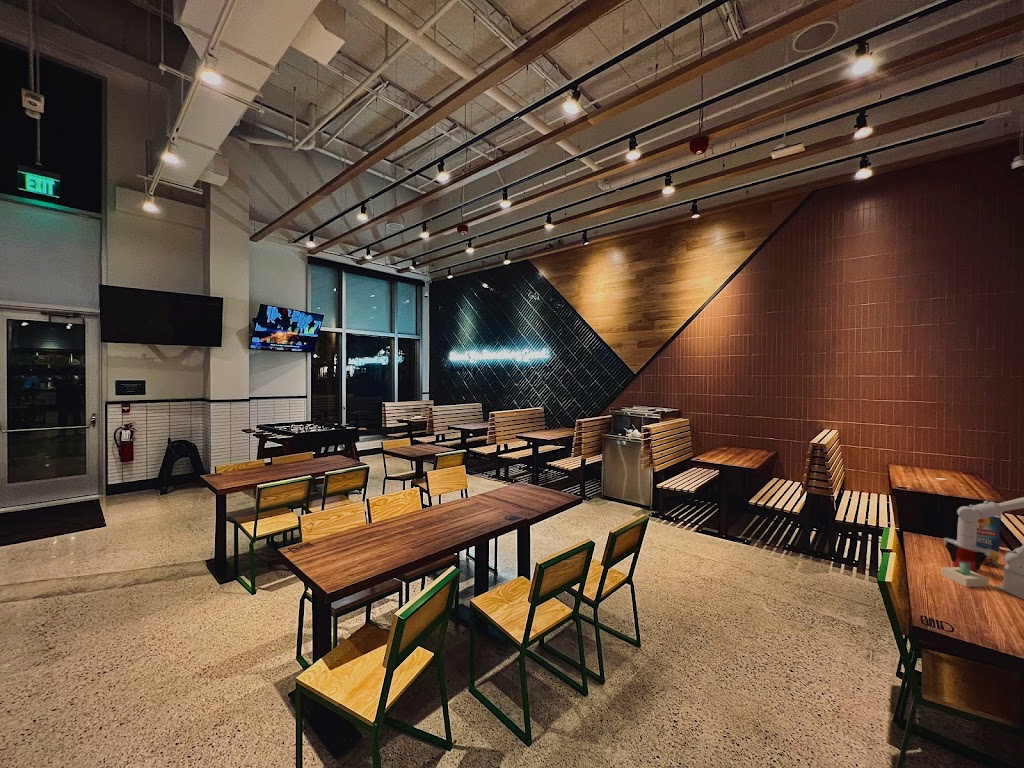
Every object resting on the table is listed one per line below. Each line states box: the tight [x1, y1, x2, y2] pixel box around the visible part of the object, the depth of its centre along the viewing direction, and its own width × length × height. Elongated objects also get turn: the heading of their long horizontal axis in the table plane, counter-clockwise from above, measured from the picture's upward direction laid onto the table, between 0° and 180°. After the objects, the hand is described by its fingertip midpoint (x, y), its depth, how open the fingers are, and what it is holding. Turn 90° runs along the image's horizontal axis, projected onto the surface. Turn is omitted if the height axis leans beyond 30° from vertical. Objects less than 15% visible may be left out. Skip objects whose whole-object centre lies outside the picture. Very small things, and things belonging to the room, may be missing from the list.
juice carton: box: [976, 515, 1002, 569], centre depth 203 cm, size 12×8×24 cm, turn 42°
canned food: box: [952, 547, 978, 573], centre depth 197 cm, size 8×8×11 cm
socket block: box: [940, 566, 990, 588], centre depth 186 cm, size 10×10×4 cm
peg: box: [959, 561, 971, 576], centre depth 186 cm, size 3×3×8 cm
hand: (965, 564), depth 185 cm, fingers open, 7 cm apart
